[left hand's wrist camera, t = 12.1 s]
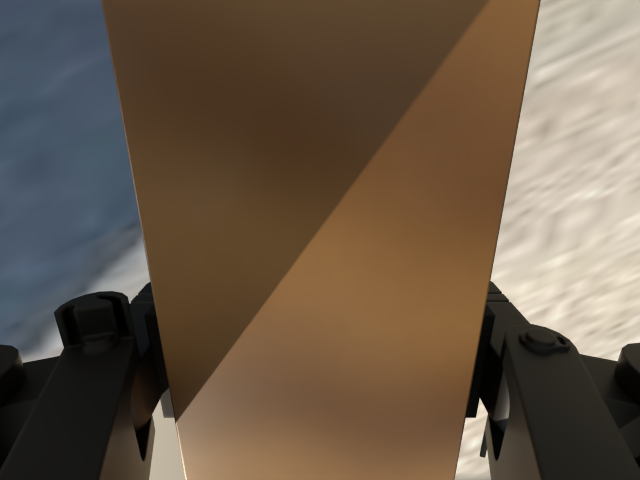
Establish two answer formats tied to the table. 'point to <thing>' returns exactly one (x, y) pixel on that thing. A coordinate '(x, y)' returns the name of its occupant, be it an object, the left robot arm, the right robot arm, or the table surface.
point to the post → (320, 220)
